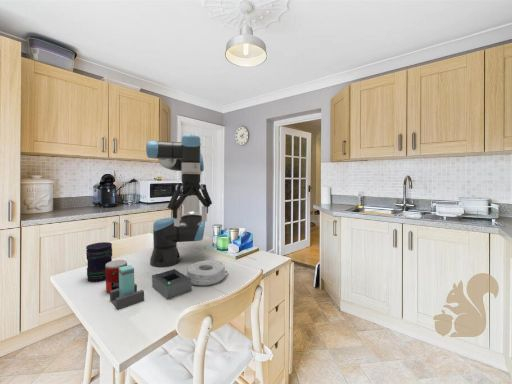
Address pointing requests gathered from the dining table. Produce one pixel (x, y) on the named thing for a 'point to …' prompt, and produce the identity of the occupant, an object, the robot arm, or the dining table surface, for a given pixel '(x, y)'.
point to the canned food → (113, 274)
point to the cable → (206, 272)
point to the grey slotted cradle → (126, 298)
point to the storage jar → (98, 260)
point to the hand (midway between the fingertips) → (191, 223)
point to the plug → (126, 280)
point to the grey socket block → (171, 283)
